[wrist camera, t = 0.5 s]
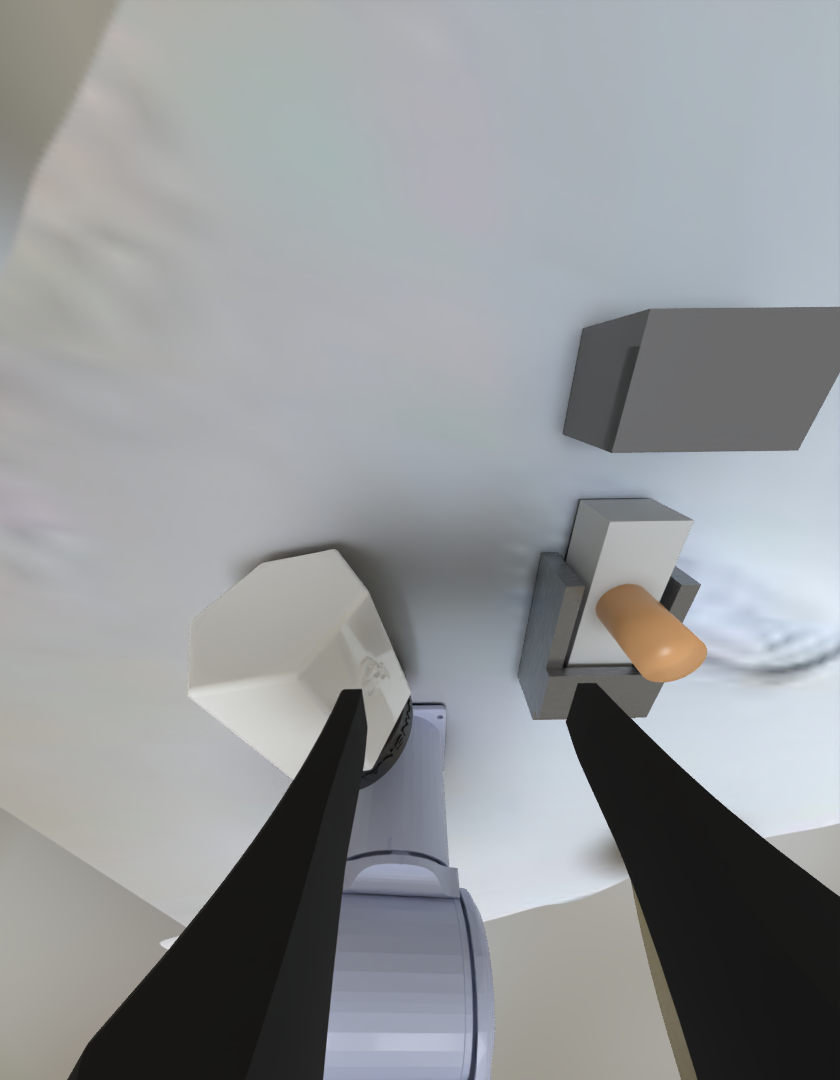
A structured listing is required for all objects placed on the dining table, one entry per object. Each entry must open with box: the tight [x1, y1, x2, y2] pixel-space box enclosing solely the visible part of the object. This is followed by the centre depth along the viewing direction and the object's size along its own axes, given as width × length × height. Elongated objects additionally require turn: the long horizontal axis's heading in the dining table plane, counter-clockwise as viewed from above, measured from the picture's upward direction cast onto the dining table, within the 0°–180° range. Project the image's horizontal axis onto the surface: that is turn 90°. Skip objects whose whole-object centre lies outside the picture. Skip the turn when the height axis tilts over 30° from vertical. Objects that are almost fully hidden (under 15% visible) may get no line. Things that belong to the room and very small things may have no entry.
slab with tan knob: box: [562, 499, 707, 682], centre depth 17 cm, size 13×4×7 cm, turn 1°
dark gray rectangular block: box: [563, 307, 840, 453], centre depth 13 cm, size 4×7×4 cm, turn 91°
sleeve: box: [518, 553, 701, 720], centre depth 20 cm, size 11×7×4 cm, turn 1°
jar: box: [187, 549, 413, 790], centre depth 18 cm, size 9×8×12 cm
